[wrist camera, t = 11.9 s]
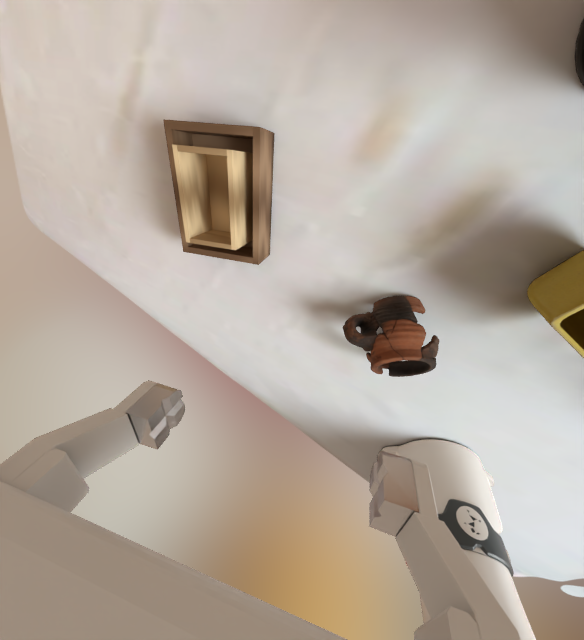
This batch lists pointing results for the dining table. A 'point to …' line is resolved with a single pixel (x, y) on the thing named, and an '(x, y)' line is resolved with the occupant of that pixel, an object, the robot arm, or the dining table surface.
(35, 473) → the robot arm
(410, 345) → the pottery mug
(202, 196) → the small crate
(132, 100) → the dining table surface
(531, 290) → the flower pot
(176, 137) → the big crate
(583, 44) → the french press
